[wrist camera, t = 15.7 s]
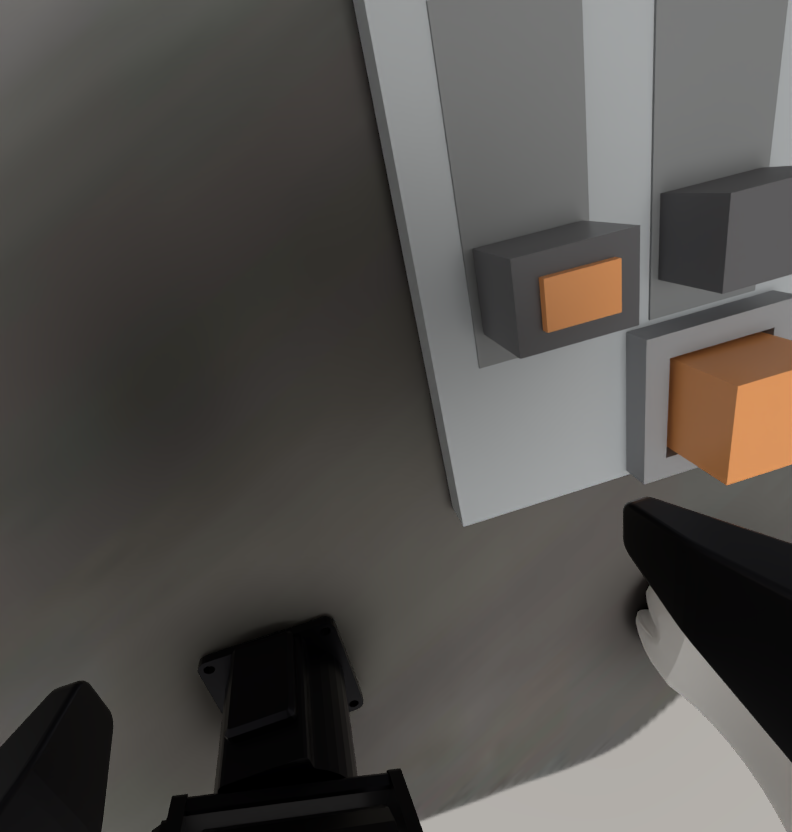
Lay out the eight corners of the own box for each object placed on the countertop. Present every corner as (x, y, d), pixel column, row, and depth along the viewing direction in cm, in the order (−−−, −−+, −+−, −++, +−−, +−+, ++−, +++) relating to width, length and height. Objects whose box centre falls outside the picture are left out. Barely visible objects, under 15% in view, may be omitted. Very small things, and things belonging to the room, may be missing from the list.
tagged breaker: (586, 306, 18) (645, 327, 15) (483, 334, 18) (525, 362, 15) (582, 220, 17) (647, 225, 14) (472, 248, 16) (514, 260, 13)
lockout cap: (733, 412, 22) (821, 454, 18) (652, 437, 22) (726, 485, 18) (743, 326, 20) (842, 354, 17) (655, 351, 20) (737, 386, 16)
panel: (759, 411, 24) (856, 455, 20) (452, 507, 23) (490, 576, 19) (833, -148, 16) (1033, -272, 11) (341, -57, 14) (367, -162, 10)
